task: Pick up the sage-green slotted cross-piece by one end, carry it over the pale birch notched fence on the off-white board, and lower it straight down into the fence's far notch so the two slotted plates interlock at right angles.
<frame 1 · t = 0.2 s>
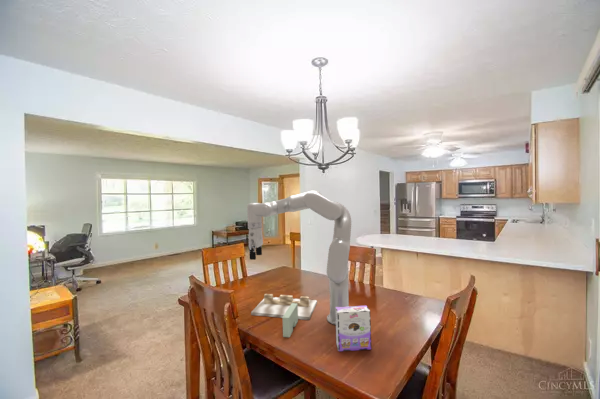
hand: (256, 257, 149), 31 cm above the table, fingers open, 9 cm apart
notched fence: (285, 308, 155), on the table
candy box: (353, 347, 116), on the table
cross piece: (290, 328, 132), on the table
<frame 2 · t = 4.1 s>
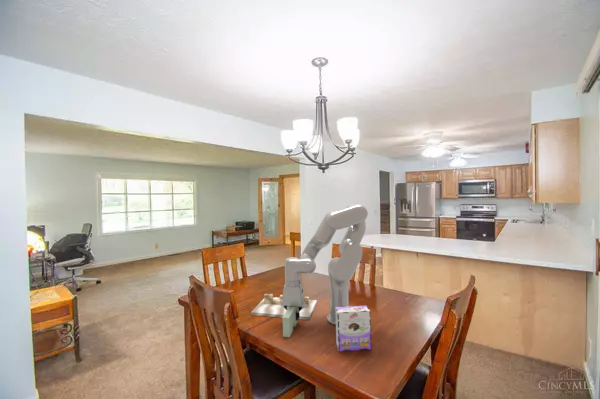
hand: (293, 318, 138), 2 cm above the table, fingers closed on cross piece, 3 cm apart
cross piece: (290, 328, 132), on the table, touching gripper
everything else where it was.
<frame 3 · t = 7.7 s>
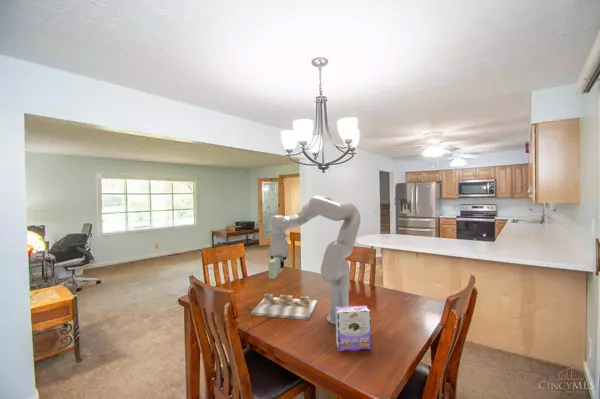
hand: (279, 267, 161), 22 cm above the table, fingers closed on cross piece, 3 cm apart
cross piece: (276, 274, 156), point 19 cm above the table, touching gripper
everything else where it was.
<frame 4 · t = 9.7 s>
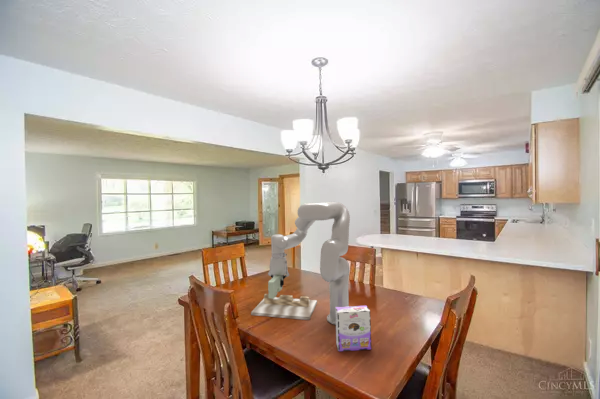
hand: (278, 285, 163), 10 cm above the table, fingers closed on cross piece, 3 cm apart
cross piece: (275, 293, 158), point 8 cm above the table, touching gripper
everything else where it was.
when the fingers open (5 cm above the table, at t = 11.4 s): cross piece stays where it is, resting on notched fence.
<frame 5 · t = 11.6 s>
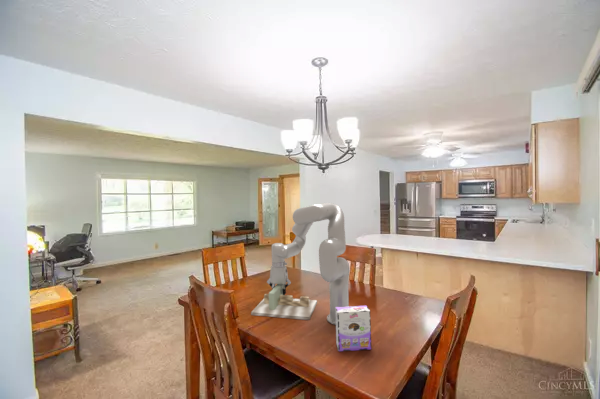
hand: (279, 294, 163), 5 cm above the table, fingers open, 5 cm apart
cross piece: (276, 303, 158), point 1 cm above the table, touching notched fence
everything else where it was.
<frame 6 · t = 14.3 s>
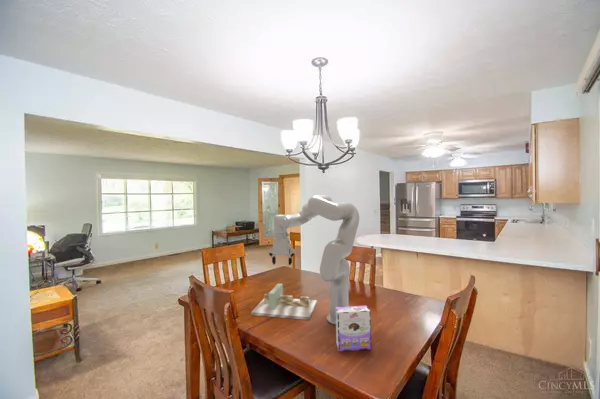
hand: (282, 264, 163), 23 cm above the table, fingers open, 9 cm apart
nothing on the table moved.
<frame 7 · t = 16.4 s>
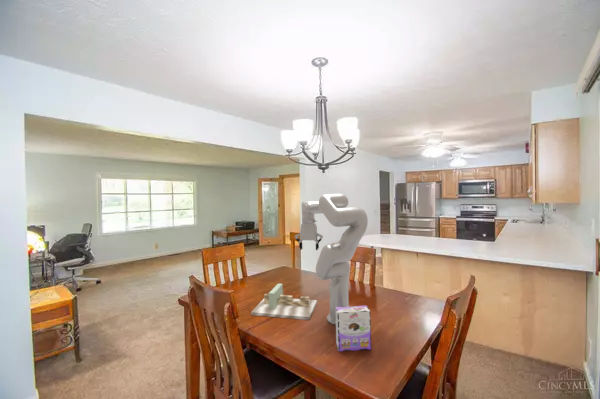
hand: (309, 249, 167), 30 cm above the table, fingers open, 9 cm apart
nothing on the table moved.
at the end: cross piece 0.0 cm from the target spot on the notched fence, point 1.5 cm above the notched fence's base; cross piece tilted 0°; the gripper is holding nothing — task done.
